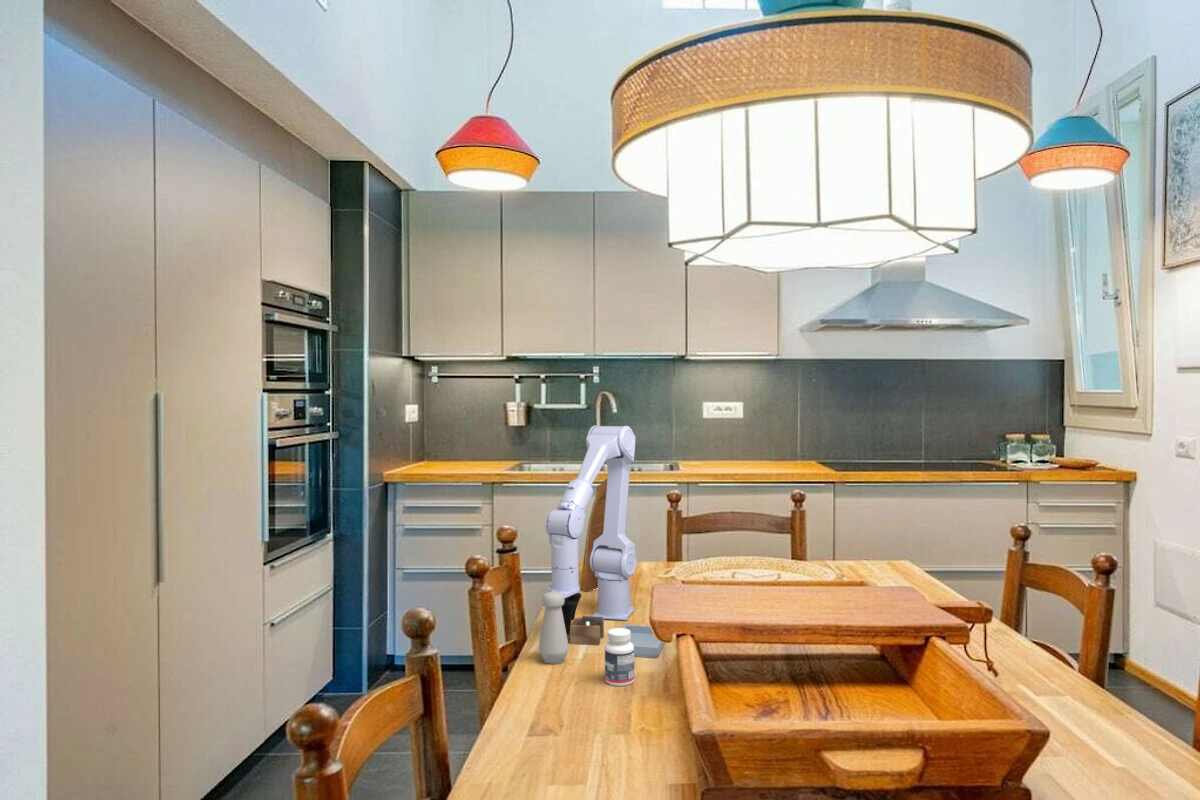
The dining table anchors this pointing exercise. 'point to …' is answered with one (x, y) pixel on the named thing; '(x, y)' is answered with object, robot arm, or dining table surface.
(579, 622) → the wooden stool frame
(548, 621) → the salt shaker
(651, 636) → the tray
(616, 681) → the pill bottle
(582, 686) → the dining table surface
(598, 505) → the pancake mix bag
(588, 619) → the grey lever handle
